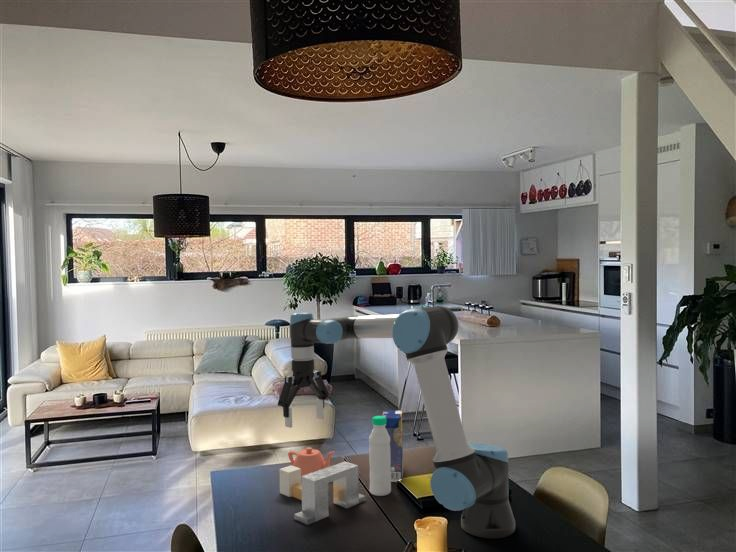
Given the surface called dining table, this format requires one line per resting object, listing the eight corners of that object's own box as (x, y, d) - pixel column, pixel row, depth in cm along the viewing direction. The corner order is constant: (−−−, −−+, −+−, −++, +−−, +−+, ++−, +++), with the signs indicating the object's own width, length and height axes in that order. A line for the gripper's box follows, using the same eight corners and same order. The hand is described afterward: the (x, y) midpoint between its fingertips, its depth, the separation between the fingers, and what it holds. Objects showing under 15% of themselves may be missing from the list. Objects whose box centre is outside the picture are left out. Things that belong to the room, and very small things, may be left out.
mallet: (330, 504, 188) (330, 479, 188) (318, 509, 185) (318, 483, 184) (290, 488, 202) (290, 464, 202) (278, 492, 199) (278, 468, 198)
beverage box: (403, 470, 217) (402, 410, 217) (402, 482, 206) (401, 418, 206) (384, 470, 218) (383, 410, 217) (382, 481, 207) (381, 418, 206)
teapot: (295, 466, 224) (294, 441, 224) (340, 470, 219) (340, 444, 218) (281, 478, 212) (281, 451, 212) (329, 482, 207) (328, 455, 207)
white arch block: (365, 500, 191) (364, 463, 191) (307, 525, 174) (306, 484, 173) (352, 495, 195) (351, 458, 195) (294, 519, 178) (293, 479, 178)
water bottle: (389, 497, 193) (388, 420, 193) (367, 496, 195) (366, 419, 194) (392, 489, 200) (391, 414, 199) (371, 487, 201) (370, 413, 201)
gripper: (323, 353, 212) (325, 413, 212) (265, 363, 194) (267, 428, 194) (337, 355, 206) (339, 416, 207) (279, 365, 188) (282, 432, 189)
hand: (304, 422), depth 200 cm, fingers open, 13 cm apart
